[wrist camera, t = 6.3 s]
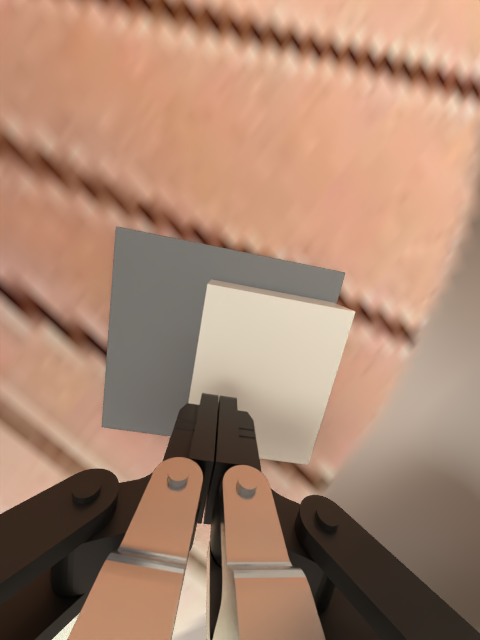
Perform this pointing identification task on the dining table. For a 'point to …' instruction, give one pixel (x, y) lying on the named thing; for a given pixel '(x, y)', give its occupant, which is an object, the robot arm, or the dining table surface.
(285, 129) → the dining table surface
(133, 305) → the mat
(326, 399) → the block
